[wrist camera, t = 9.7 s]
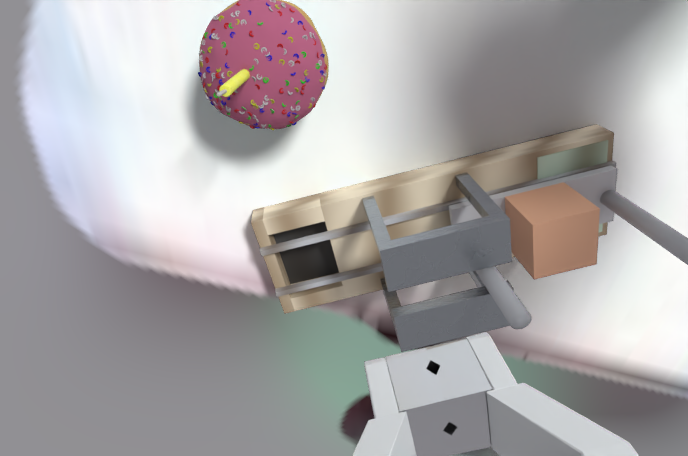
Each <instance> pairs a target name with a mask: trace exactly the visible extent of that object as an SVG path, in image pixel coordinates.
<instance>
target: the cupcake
mask: <svg viewBox="0 0 688 456" xmlns="http://www.w3.org/2000/svg"><path fill="white" fill-rule="evenodd" d="M199 65H200V72H198V74H199V76H200V77H201V81H202V82H201V83H202V85H203V88H204V91H205V93H206V95H205V97H206V99H207V100H210V101H211V104H212V105H214V106H215V107H216V108H217V110H218V111H219V112H220V113H223V114H224V115H226V116H228V117H230V118H232V119H235V120H237V121H239V123H243V124H246V125H248V126H250V127H251V128H253V129H254V128H263V129H265V128H269V129H271V130H274V129H282V128H285V127H289V126H291V125H295V124H296V122H297V121H298V120H300V119H301V118H303V117H304V116H306V115H307V114H308V113H310V112H311V110H312V109H313V108H315V105H316V103H317V101H318V99H319V98H320V96H321V94H322V92H323V90H324V89H325V85H326V82H327V78H328V56H327V52H326V49H325V46H324V44H323V42H322V40H321V38H320V36H319V34H318V32H317V30H316V28H315V26H314V24H313V22H312V20H311V19H310V18H309V16H308V15H307V14H306V13H305V12H304V11H303V10H302V9H300V8H299V7H298V6H296V5H294V4H292V3H289V2H286V1H282V0H238V1H236V2H235V3H233V4H231V5H230V6H228V7H227V8H226V9H224V10H223V11H222V12H221V13H220V14H218V15H216V16H214V17H213V19H212V20H211V22H210V23H209V25H208V27H207V29H206V31H205V33H204V35H203V38H202V41H201V46H200V53H199Z"/></svg>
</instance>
